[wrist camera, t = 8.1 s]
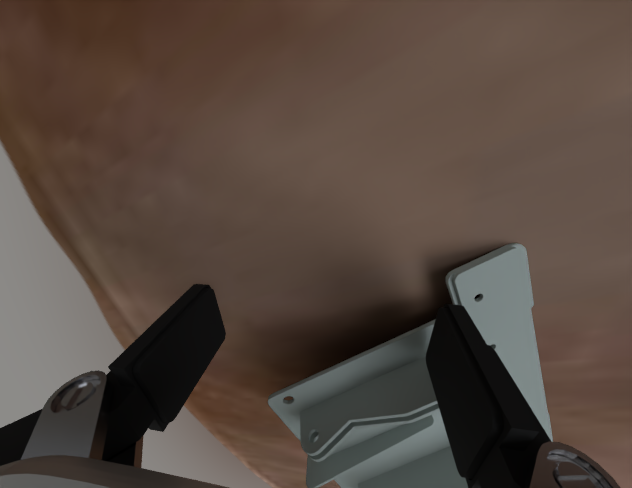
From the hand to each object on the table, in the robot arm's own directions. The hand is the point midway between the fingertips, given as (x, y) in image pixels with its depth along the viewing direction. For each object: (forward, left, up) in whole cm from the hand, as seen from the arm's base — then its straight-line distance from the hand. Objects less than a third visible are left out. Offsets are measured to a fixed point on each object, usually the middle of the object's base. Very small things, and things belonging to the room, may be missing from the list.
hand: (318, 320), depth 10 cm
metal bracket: (+6, +5, -3) cm, 9 cm away
